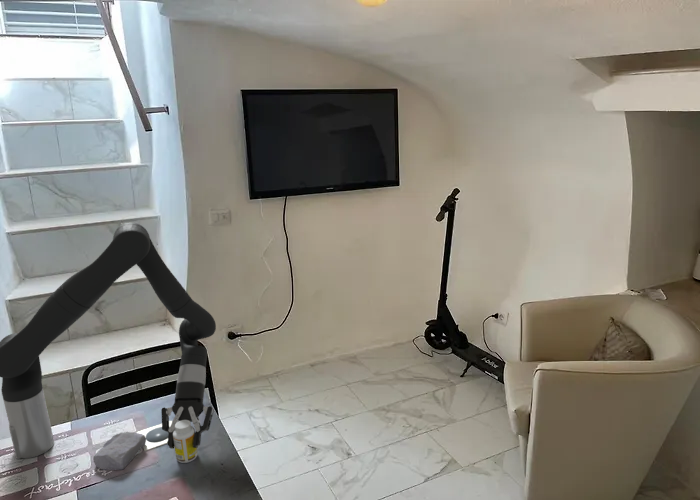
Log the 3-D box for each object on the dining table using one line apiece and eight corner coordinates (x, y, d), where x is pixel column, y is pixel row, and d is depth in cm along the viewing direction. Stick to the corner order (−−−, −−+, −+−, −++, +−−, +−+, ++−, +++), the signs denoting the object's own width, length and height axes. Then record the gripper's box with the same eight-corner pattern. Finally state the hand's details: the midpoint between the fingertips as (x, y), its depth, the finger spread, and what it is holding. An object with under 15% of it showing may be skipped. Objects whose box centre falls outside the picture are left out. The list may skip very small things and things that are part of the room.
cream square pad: (144, 451, 145) (144, 450, 145) (136, 432, 154) (136, 431, 153) (181, 438, 151) (181, 437, 150) (171, 421, 159) (171, 420, 159)
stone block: (92, 474, 140) (124, 471, 137) (86, 458, 139) (118, 455, 136) (120, 446, 151) (150, 443, 148) (114, 431, 150) (145, 428, 147)
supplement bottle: (198, 449, 146) (194, 416, 143) (196, 462, 140) (192, 429, 138) (177, 451, 145) (173, 419, 142) (174, 465, 140) (170, 431, 137)
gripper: (160, 380, 144) (151, 446, 136) (213, 379, 145) (207, 445, 136) (169, 387, 151) (160, 450, 143) (220, 386, 151) (214, 449, 143)
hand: (183, 447), depth 140 cm, fingers closed on supplement bottle, 5 cm apart
